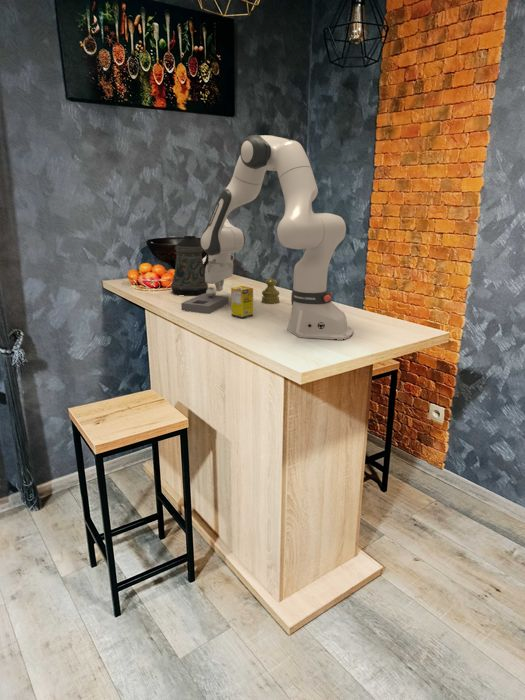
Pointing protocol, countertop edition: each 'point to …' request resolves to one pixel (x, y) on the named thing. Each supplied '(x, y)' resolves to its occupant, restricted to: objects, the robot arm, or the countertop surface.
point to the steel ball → (211, 292)
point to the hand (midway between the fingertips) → (219, 290)
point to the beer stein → (189, 268)
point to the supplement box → (242, 302)
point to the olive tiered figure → (270, 292)
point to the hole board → (205, 303)
